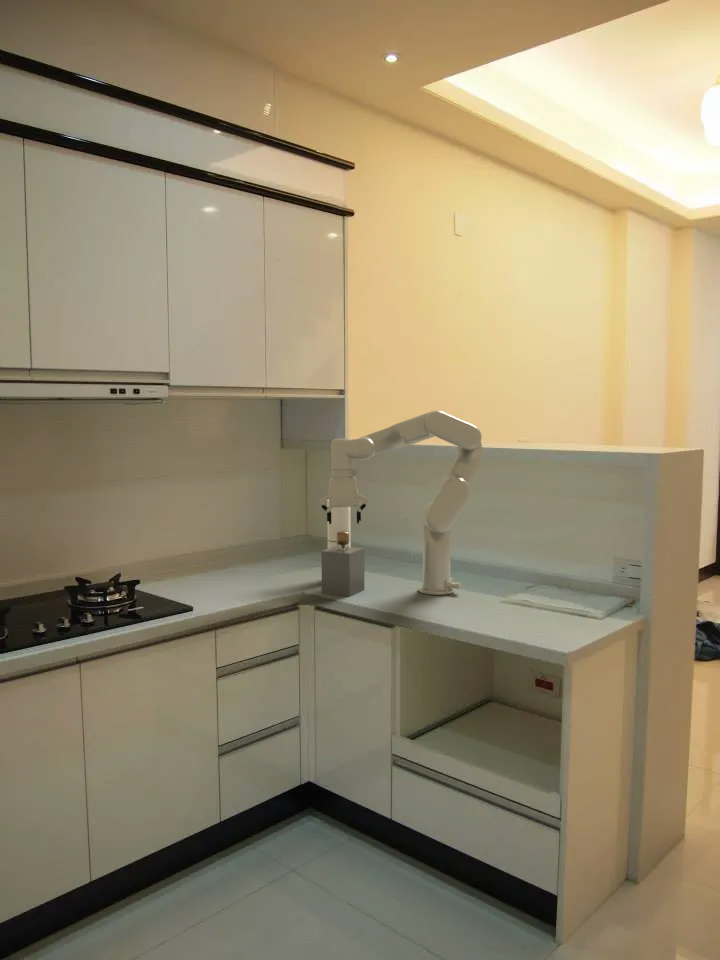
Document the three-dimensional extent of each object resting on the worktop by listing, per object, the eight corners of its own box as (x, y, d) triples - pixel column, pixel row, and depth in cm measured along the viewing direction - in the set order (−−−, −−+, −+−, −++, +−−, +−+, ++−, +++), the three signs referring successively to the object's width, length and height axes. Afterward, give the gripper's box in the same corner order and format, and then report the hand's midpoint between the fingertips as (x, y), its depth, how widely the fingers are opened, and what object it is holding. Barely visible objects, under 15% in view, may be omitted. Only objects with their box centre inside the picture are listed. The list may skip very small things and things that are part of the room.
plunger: (358, 586, 269) (358, 531, 267) (347, 591, 262) (347, 534, 260) (339, 584, 272) (338, 529, 270) (328, 589, 265) (327, 533, 263)
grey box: (364, 589, 269) (364, 548, 268) (349, 596, 260) (349, 553, 258) (337, 586, 274) (337, 545, 273) (321, 593, 265) (321, 551, 263)
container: (339, 576, 291) (339, 498, 288) (355, 579, 285) (355, 500, 282) (323, 579, 285) (322, 500, 282) (338, 583, 279) (338, 502, 276)
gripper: (367, 472, 267) (369, 521, 268) (318, 473, 267) (320, 522, 269) (367, 474, 259) (369, 524, 261) (317, 475, 259) (318, 525, 261)
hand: (344, 523), depth 265 cm, fingers open, 9 cm apart
